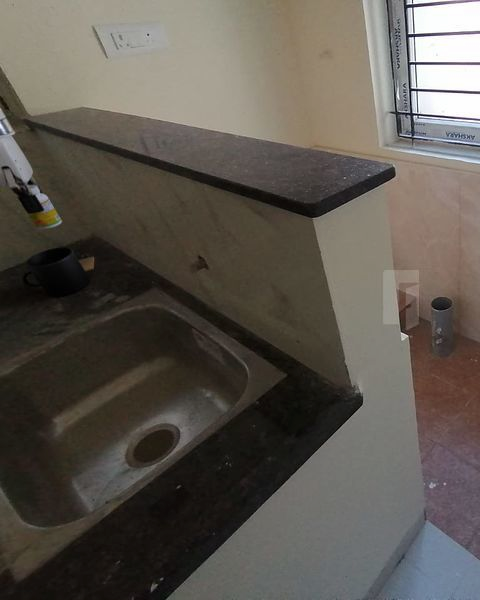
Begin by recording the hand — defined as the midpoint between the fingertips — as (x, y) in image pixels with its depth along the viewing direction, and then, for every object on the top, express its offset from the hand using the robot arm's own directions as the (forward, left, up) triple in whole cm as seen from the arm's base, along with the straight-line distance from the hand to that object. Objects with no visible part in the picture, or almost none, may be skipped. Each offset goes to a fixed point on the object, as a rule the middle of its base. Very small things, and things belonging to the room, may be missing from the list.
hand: (38, 206), depth 95 cm
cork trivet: (0, +2, -19) cm, 19 cm away
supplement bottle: (0, 0, -5) cm, 5 cm away
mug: (-3, -8, -19) cm, 21 cm away
